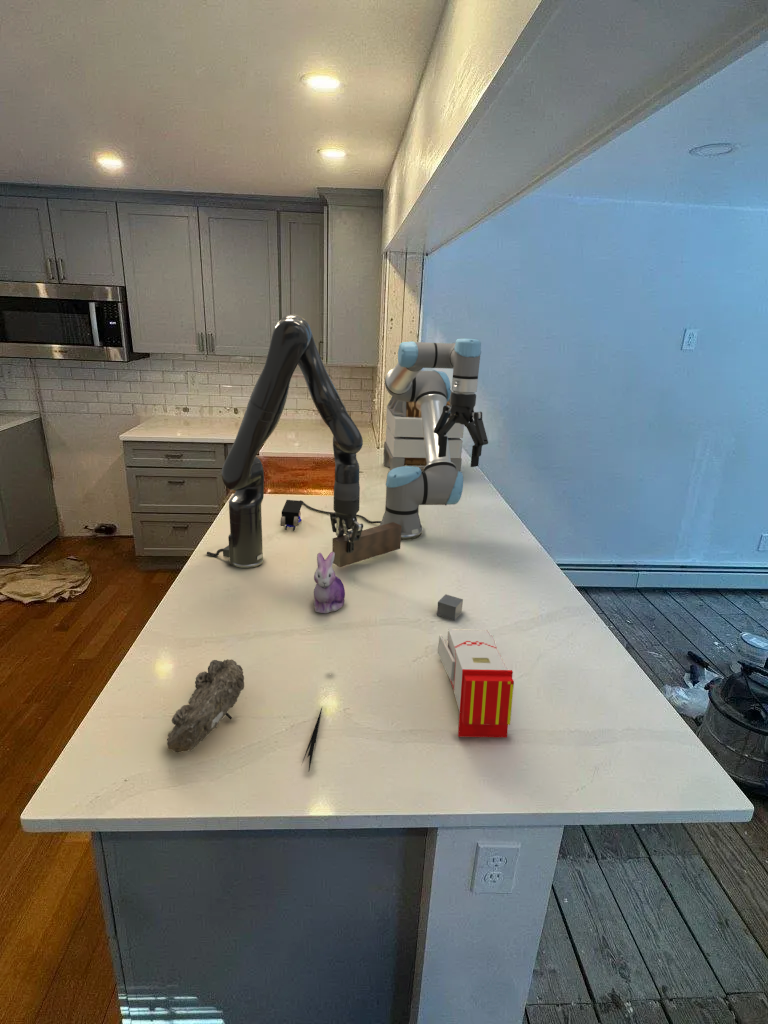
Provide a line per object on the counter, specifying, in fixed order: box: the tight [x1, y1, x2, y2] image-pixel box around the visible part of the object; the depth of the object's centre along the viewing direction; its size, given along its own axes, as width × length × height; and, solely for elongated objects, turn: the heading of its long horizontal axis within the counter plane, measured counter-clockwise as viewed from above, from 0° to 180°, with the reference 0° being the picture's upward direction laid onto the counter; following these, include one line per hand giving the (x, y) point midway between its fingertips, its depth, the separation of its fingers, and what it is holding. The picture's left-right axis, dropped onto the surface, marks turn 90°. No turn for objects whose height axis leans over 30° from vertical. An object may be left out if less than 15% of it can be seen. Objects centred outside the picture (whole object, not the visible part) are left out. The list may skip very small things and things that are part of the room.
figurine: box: [313, 551, 346, 614], centre depth 147 cm, size 9×10×15 cm
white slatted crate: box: [383, 389, 465, 472], centre depth 268 cm, size 34×33×41 cm
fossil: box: [166, 658, 245, 754], centre depth 106 cm, size 22×10×15 cm
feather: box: [301, 673, 332, 771], centre depth 108 cm, size 2×28×2 cm
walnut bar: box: [331, 522, 402, 568], centre depth 175 cm, size 24×4×8 cm, turn 130°
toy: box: [437, 628, 515, 738], centre depth 117 cm, size 12×13×30 cm
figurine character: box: [279, 499, 304, 532], centre depth 202 cm, size 7×8×15 cm
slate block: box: [436, 593, 464, 621], centre depth 148 cm, size 5×5×4 cm
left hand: (345, 549), depth 170 cm, fingers closed on walnut bar, 4 cm apart
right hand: (457, 461), depth 177 cm, fingers open, 13 cm apart
